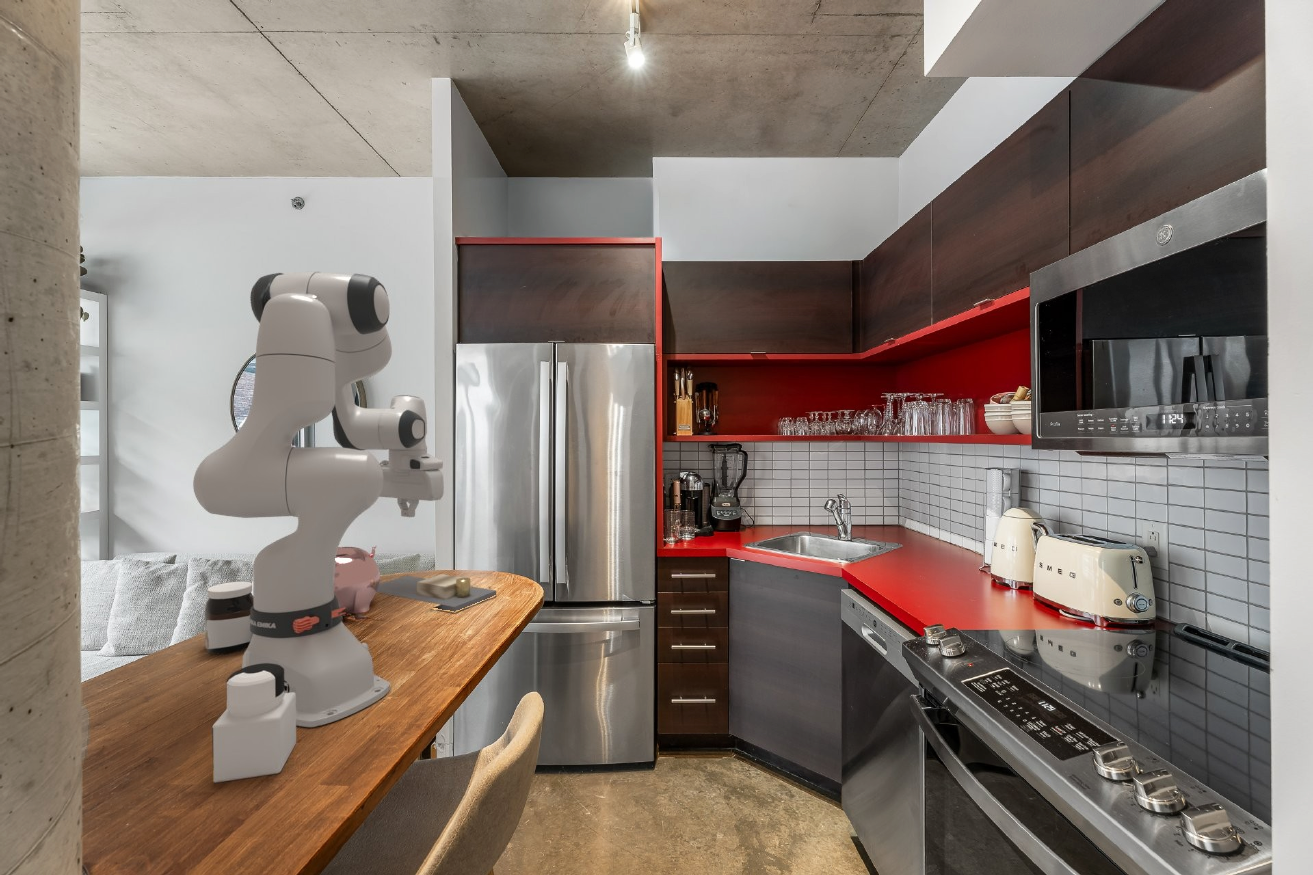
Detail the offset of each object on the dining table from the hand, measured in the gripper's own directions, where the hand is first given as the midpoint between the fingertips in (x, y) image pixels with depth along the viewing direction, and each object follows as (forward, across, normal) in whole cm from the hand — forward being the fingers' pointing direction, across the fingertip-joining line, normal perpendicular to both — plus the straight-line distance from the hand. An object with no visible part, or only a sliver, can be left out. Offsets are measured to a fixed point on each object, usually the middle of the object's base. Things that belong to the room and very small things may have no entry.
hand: (408, 516), depth 146 cm
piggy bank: (+20, 0, -20) cm, 28 cm away
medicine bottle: (+20, +41, -61) cm, 76 cm away
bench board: (+19, +7, 0) cm, 20 cm away
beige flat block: (+18, +11, 0) cm, 21 cm away
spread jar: (+20, 0, -39) cm, 43 cm away
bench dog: (+18, +18, 0) cm, 25 cm away
